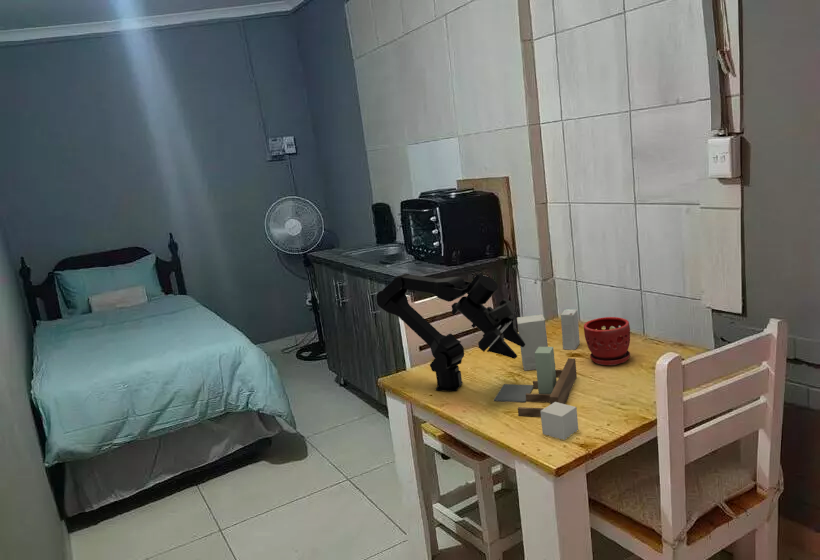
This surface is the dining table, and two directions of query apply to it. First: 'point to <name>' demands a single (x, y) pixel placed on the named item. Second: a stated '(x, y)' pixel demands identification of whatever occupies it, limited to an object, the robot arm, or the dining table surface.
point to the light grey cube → (559, 420)
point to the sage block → (545, 369)
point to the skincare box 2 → (570, 329)
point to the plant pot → (608, 340)
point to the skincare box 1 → (531, 338)
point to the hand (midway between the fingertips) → (520, 351)
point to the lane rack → (558, 393)
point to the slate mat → (513, 393)
